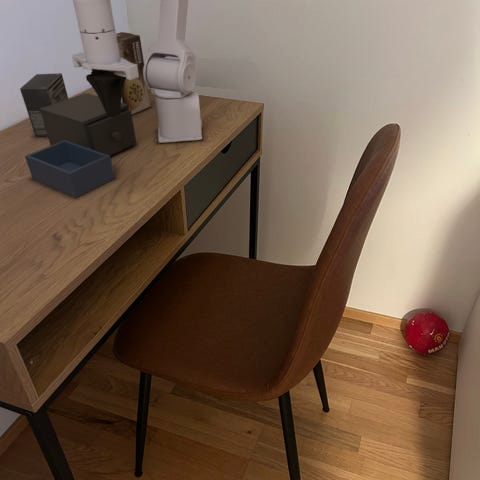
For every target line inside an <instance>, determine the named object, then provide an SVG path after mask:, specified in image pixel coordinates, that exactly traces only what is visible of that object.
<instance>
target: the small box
mask: <svg viewBox="0 0 480 480" xmlns="http://www.w3.org/2000/svg"><path fill="white" fill-rule="evenodd" d="M19 90H20V93H21V96H22V101H23V103H24V106H25V108H26V112H27V115H28V118H29V121H30V124H31V128H32V130H33V134H34V136H35V137H48V135H47V132H46V128H45V125H44V121H43V118H42V115H41V111H40V108H43V107H46V106H49V105H52V104H55V103H58V102H61V101H64V100H67V99H69V96H68V92H67V88H66V84H65V80H64V78H63V73H62V72H59V73H36V74H35V75H34V76H33V77H32V78H30V79H29V80H28V81H27V82H26V83H25V84H24V85H22V86H21V87H20V88H19Z"/></svg>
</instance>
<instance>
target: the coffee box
mask: <svg viewBox="0 0 480 480" xmlns="http://www.w3.org/2000/svg"><path fill="white" fill-rule="evenodd" d="M116 37H117V43H118V49H119V54H120V57H121V58H123V59H125V60H127V61H128V62H130V63H133V64H136V65H137V68H138V74H139V77H138V78H135V79H132V80H128V79H126V80H125V83H124V86H123V90H122V96H121V103H125V104H128V106H129V110H130V111H131V114H132V115H134V114H137V113H139V112H141V111H143V110H146V109H148V108H150V107H151V101H150V100H151V99H150V94H149V87H148V86H147V85H146V83H145V81H144V77H143V67H144V64H145V60H144V55H143V53H144V52H143V47H142V41H141V35H139V34H134V33H130V32H126V31H125V32H124V31H120V32H116Z"/></svg>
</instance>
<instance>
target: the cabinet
mask: <svg viewBox="0 0 480 480" xmlns="http://www.w3.org/2000/svg"><path fill="white" fill-rule="evenodd" d="M125 110H129V106H128V104H125V103H121V110H120V111H121V112H122V111H125ZM40 111H41V115H42V118H43V121H44V125H45V128H46V132H47V135H48V136H47V138H48V142H49V146H51V145H54V144H56V143H59V142H61V141H64V140H67V141H69V142H72V143H75V144H78V145H81V146H84V147H86V148H89V149H91V145H90V141H89V136H88V132H87V128H86V124H88V123H91V122H94V121H96V120H99V119H101V118H104V117H106V116H107V114H106V112H105V110H104V107H103V105H102V103H101V101H100V99H99V97H98V95H95V94H92V93H87V92H85V93H82V94H79V95H76V96H73V97H69V98H68V99H67V100H64V101H61V102H58V103H55V104H52V105H49V106H46V107H43V108H40ZM134 146H136V143H135V144H133V145H131V146H129V147H127V148H124V149H122V150H120V151H118V152H116V153H113V154H111V155H109V156H110V157H111V156H114V155H115V154H119V153H121V152H122V151H125V150H127V149H130V148H131V147H134Z"/></svg>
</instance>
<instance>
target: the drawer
mask: <svg viewBox="0 0 480 480" xmlns="http://www.w3.org/2000/svg"><path fill="white" fill-rule="evenodd" d="M86 128H87V132H88V136H89V141H90V145H91V149H92V150H95V151H98V152H101V153H104V154H106V155H111V154H113V153H116V152H118V151H120V150H122V149H124V148H127V147H129V146H131V145H133V144H135V145H136V144H137V138H136V133H135V126H134V120H133V114H131V111H130V110H125V111H122V112H121V111H120V115H118V116H115V117H109V116H106V117H104V118H101V119H99V120H96V121H95V122H94V123H91V124H89V125H88V124H86ZM131 147H132V146H131ZM129 148H130V147H129ZM127 149H128V148H127ZM120 152H121V151H120ZM118 153H119V152H118ZM116 154H117V153H116Z"/></svg>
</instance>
